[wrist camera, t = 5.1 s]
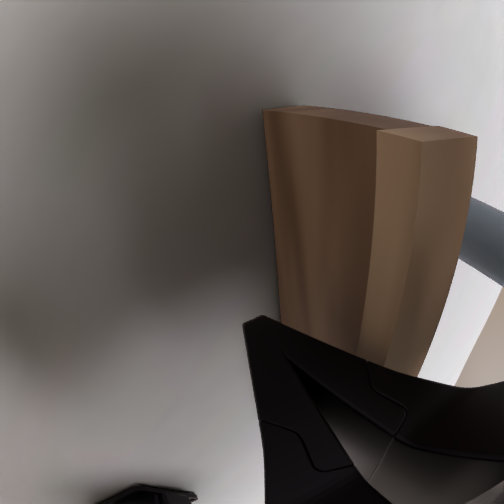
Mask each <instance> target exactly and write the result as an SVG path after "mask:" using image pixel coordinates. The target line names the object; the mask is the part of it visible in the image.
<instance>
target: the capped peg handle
mask: <svg viewBox="0 0 504 504" xmlns="http://www.w3.org/2000/svg"><path fill="white" fill-rule="evenodd" d="M458 258H459V259H460V260H462V261H464V262H465V263H467V264H469V265H470V266H472V267H473V268H475V269H477V270H478V271H480V272H481V273H483V274H484V275H486V276H487V277H489V278H491V279H492V280H494V281H495V282H497V283H498V284H500V285H501V286H503V287H504V212H502V211H500V210H498V209H496V208H494V207H492V206H490V205H488V204H485V203H483V202H481V201H479V200H477V199H475V198H472V197H471V199H470V205H469V211H468V216H467V221H466V226H465V231H464V236H463V240H462V245H461V249H460V253H459V257H458Z"/></svg>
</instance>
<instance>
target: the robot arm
mask: <svg viewBox="0 0 504 504" xmlns="http://www.w3.org/2000/svg"><path fill="white" fill-rule="evenodd" d="M242 326H243V332H244V338H245V345H246V351H247V357H248V363H249V368H250V374H251V380H252V386H253V392H254V398H255V403H256V409H257V415H258V420H259V427H260V432H261V439H262V446H263V455H264V479H265V504H504V381H503V382H499V383H495V384H490V385H485V386H481V387H473V388H464V387H456V386H451V385H447V384H442V383H438V382H434V381H430V380H426V379H422V378H418V377H414V376H411V375H407V374H404V373H401V372H397V371H394V370H392V369H389V368H386V367H383V366H381V365H378V364H376V363H373V362H371V361H367V362H366V360H365V359H363V358H361V357H358V356H356V355H353V354H351V353H349V352H346V351H344V350H341V349H339V348H337V347H334V346H332V345H330V344H327V343H325V342H323V341H320V340H318V339H316V338H314V337H311V336H309V335H307V334H304V333H302V332H300V331H298V330H295V329H293V328H291V327H289V326H287V325H284V324H282V323H280V322H278V321H276V320H273V319H271V318H269V317H267V316H265V315H260V316H258V317H256V318H254V319H251V320H249V321H247V322H245V323H243V325H242ZM197 499H198V498H197V495H196V494H191V493H183V492H176V491H169V490H163V489H157V488H152V487H146V486H134V487H132V488H130V489H128V490H126V491H124V492H122V493H120V494H118V495H116V496H114V497H112V498H110V499H108V500H106V501H104V502H102V503H99V504H191V503H192V502H194V501H196V500H197Z"/></svg>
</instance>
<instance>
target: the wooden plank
mask: <svg viewBox="0 0 504 504" xmlns="http://www.w3.org/2000/svg"><path fill="white" fill-rule="evenodd" d="M262 111H263V120H264V130H265V139H266V149H267V159H268V170H269V180H270V191H271V202H272V213H273V224H274V236H275V248H276V260H277V273H278V286H279V299H280V313H281V323H282V324H284V325H287V326H289V327H291V328H293V329H295V330H298V331H300V332H302V333H304V334H307V335H309V336H311V337H314V338H316V339H318V340H320V341H323V342H325V343H327V344H330V345H332V346H334V347H337V348H339V349H341V350H344V351H346V352H349V353H351V354H353V355H356V356H358V357H361V358H363V359H365V360H366V362H367V361H371V362H373V363H376V364H378V365H381V366H383V367H386V368H389V369H392V370H394V371H397V372H401V373H404V374H407V375H411V376H414V377H417V376H418V374H419V372H420V369H421V367H422V365H423V362H424V360H425V358H426V355H427V353H428V350H429V348H430V345H431V342H432V340H433V337H434V335H435V332H436V329H437V326H438V324H439V321H440V318H441V315H442V312H443V309H444V306H445V303H446V300H447V297H448V293H449V290H450V287H451V283H452V280H453V276H454V273H455V269H456V265H457V261H458V257H459V253H460V249H461V245H462V240H463V236H464V231H465V226H466V221H467V216H468V211H469V205H470V199H471V192H472V185H473V178H474V170H475V161H476V150H477V136H473V135H470V134H466V133H463V132H459V131H456V130H452V129H448V128H444V127H440V126H429V125H425V124H420V123H416V122H411V121H406V120H401V119H396V118H391V117H386V116H380V115H374V114H368V113H362V112H355V111H348V110H341V109H333V108H324V107H315V106H293V107H284V108H275V109H267V110H262Z"/></svg>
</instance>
